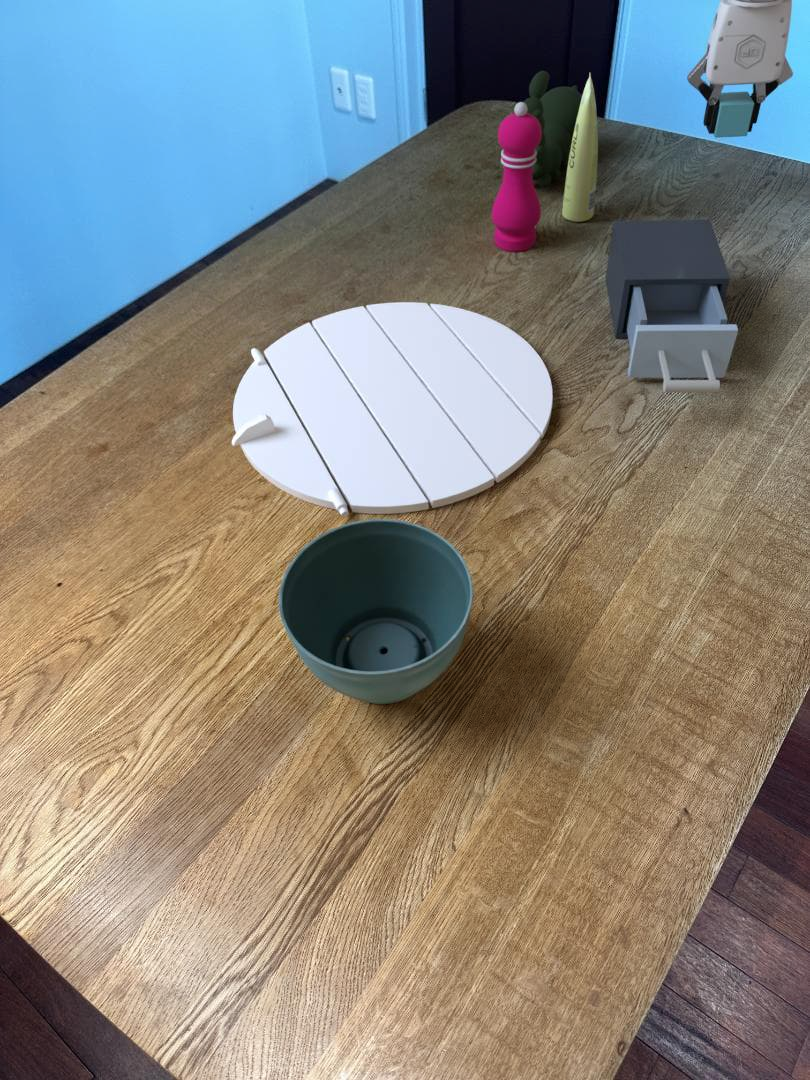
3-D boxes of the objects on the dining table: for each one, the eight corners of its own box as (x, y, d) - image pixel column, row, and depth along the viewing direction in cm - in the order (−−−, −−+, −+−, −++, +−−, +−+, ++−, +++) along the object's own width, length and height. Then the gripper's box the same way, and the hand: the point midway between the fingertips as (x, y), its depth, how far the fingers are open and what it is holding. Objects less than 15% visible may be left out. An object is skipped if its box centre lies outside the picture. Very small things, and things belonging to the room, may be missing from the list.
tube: (552, 213, 129) (563, 79, 115) (576, 203, 131) (590, 70, 116) (576, 226, 126) (590, 91, 111) (601, 216, 128) (618, 81, 113)
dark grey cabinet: (714, 338, 105) (730, 278, 99) (615, 338, 106) (624, 279, 100) (696, 277, 115) (709, 219, 108) (605, 278, 116) (613, 220, 109)
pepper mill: (482, 246, 124) (484, 107, 109) (506, 225, 127) (511, 88, 112) (523, 258, 121) (531, 117, 106) (547, 236, 124) (558, 97, 109)
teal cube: (740, 123, 123) (747, 91, 120) (746, 136, 120) (754, 103, 116) (709, 125, 123) (715, 92, 120) (714, 137, 120) (721, 104, 117)
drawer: (736, 416, 94) (751, 368, 88) (635, 416, 95) (644, 368, 89) (705, 314, 107) (717, 267, 102) (617, 315, 108) (625, 268, 103)
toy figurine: (552, 213, 132) (597, 137, 145) (559, 93, 117) (609, 20, 130) (498, 205, 135) (547, 130, 148) (498, 87, 120) (552, 15, 133)
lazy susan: (286, 564, 84) (280, 543, 81) (193, 362, 108) (186, 340, 106) (616, 443, 93) (620, 419, 90) (462, 281, 117) (462, 260, 115)
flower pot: (485, 605, 79) (487, 530, 71) (454, 755, 69) (453, 689, 61) (327, 581, 82) (311, 507, 74) (275, 722, 72) (250, 654, 64)
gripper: (697, -1, 106) (673, 142, 120) (832, -10, 105) (793, 137, 118) (688, -18, 111) (666, 122, 125) (817, -26, 110) (781, 116, 123)
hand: (728, 128), depth 121 cm, fingers closed on teal cube, 4 cm apart
